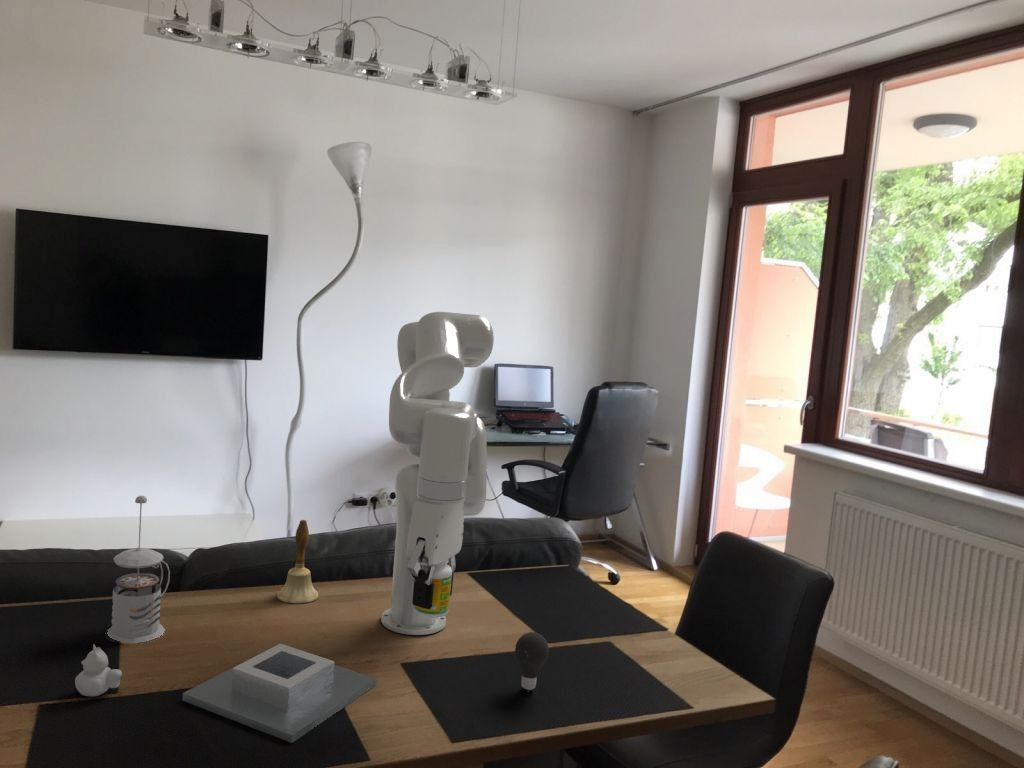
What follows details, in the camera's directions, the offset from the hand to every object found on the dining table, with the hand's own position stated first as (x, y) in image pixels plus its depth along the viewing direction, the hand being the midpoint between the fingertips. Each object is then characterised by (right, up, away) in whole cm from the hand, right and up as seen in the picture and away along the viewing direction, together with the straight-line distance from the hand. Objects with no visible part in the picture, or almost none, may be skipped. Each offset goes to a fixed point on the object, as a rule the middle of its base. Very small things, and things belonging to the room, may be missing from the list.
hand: (432, 599), depth 133 cm
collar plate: (-24, -15, +1) cm, 28 cm away
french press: (-54, -10, +18) cm, 58 cm away
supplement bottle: (0, -2, 0) cm, 2 cm away
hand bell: (-31, -10, +41) cm, 52 cm away
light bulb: (+15, -18, +9) cm, 25 cm away
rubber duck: (-50, -13, -4) cm, 52 cm away
